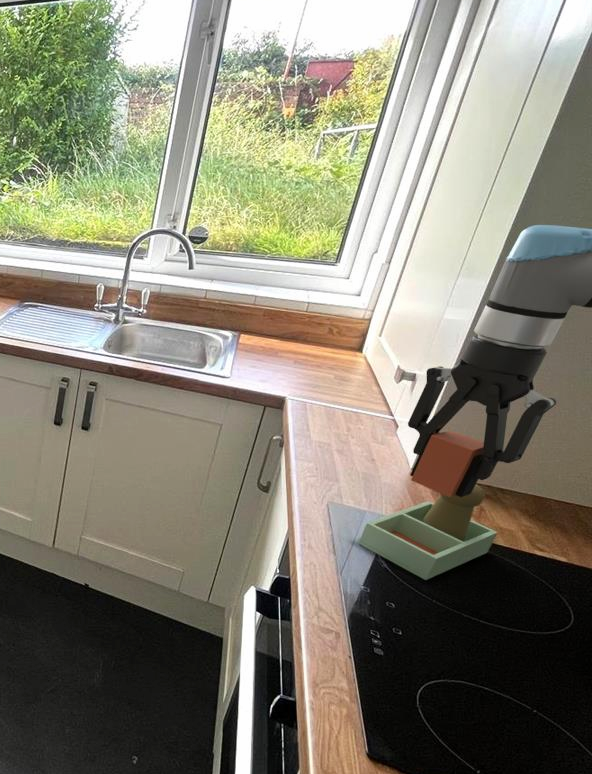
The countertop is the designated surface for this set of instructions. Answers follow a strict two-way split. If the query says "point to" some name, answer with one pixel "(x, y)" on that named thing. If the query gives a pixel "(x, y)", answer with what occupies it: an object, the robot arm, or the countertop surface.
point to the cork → (454, 513)
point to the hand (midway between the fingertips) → (439, 484)
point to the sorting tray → (423, 542)
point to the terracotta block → (446, 461)
